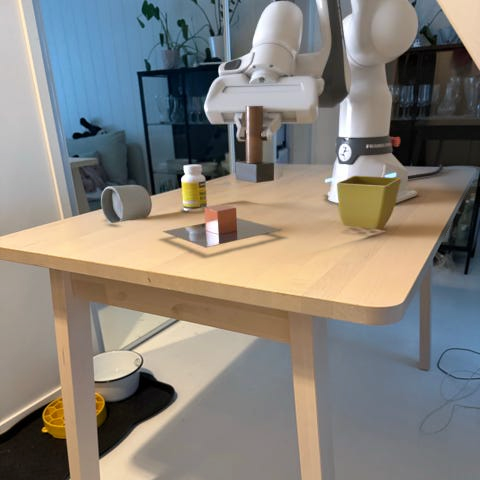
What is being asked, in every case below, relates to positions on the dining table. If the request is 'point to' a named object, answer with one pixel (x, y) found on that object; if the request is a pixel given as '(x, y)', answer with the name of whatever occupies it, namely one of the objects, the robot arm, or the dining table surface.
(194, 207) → the supplement bottle
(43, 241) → the dining table surface
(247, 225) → the polished metal plate
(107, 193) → the ceramic mug
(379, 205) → the flower pot
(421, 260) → the dining table surface
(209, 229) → the terracotta orange cube
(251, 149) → the mallet with wooden handle
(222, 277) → the dining table surface
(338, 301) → the dining table surface
